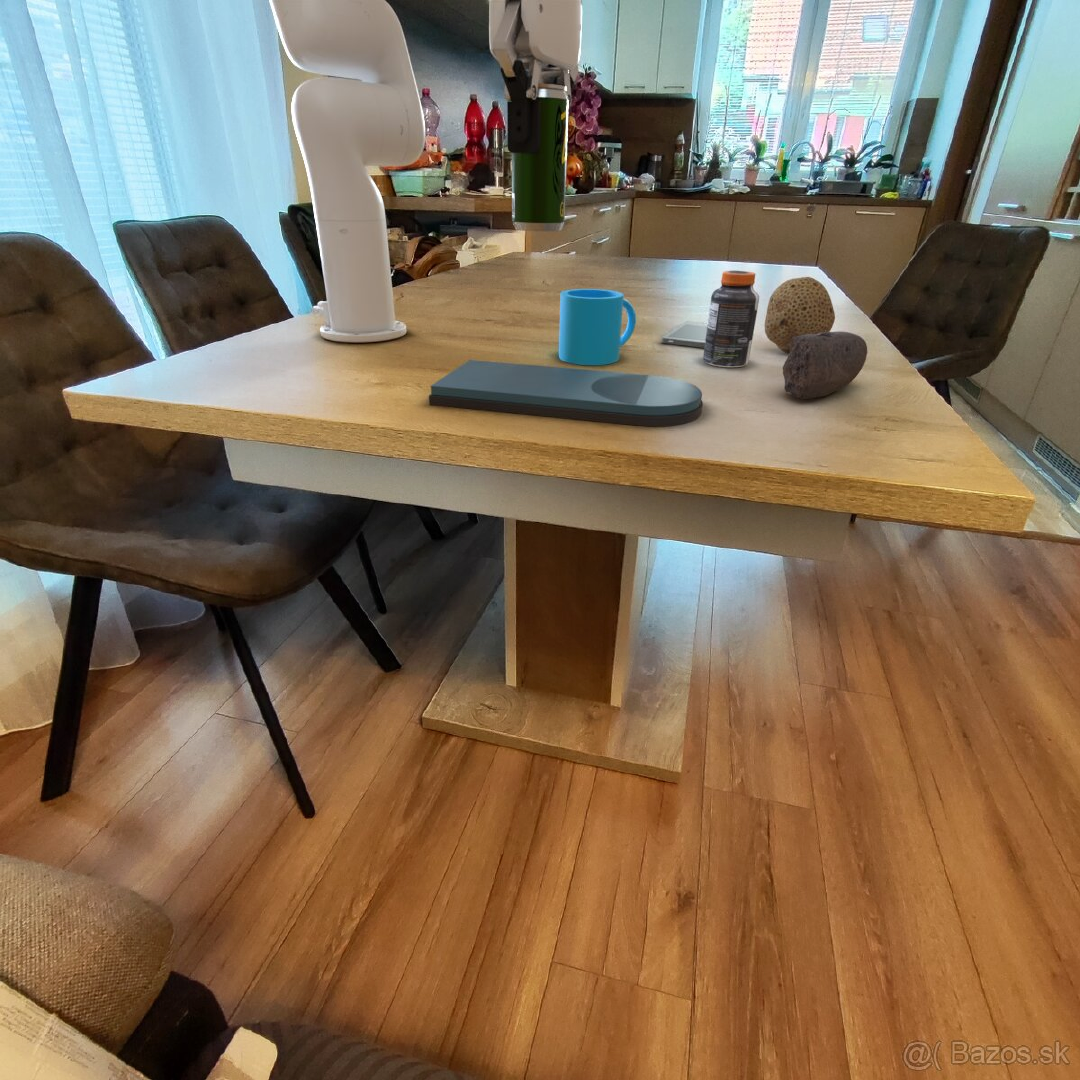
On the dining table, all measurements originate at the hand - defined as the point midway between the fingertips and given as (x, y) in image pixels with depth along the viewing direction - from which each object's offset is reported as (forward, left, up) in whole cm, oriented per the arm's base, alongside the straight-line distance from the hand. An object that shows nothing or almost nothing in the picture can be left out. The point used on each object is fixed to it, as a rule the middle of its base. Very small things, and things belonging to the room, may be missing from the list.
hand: (538, 151), depth 62 cm
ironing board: (+6, -3, -23) cm, 24 cm away
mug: (+1, +18, -23) cm, 29 cm away
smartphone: (+10, +37, -23) cm, 45 cm away
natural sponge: (+24, +34, -23) cm, 47 cm away
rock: (+30, +15, -23) cm, 41 cm away
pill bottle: (+17, +23, -23) cm, 37 cm away
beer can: (0, 0, -7) cm, 7 cm away
